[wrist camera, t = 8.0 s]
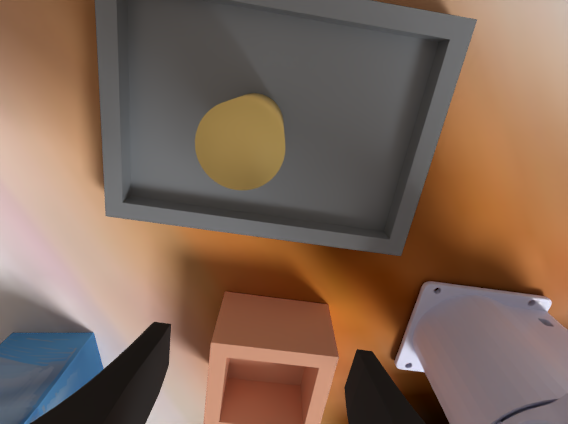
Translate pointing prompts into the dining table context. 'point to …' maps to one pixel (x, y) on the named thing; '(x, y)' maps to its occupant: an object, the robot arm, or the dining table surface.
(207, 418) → the peach hollow square block
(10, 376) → the perfume bottle
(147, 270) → the dining table surface
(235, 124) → the dowel
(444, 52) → the tray
